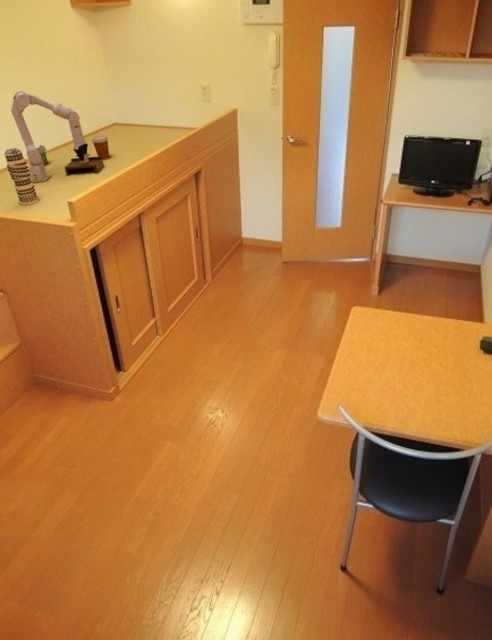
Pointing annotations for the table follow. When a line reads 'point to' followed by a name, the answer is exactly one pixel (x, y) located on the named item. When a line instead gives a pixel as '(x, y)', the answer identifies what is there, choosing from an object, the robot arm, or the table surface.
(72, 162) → the shelf
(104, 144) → the disposable coffee cup
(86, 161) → the pot
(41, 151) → the food container
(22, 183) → the leaning tower model
